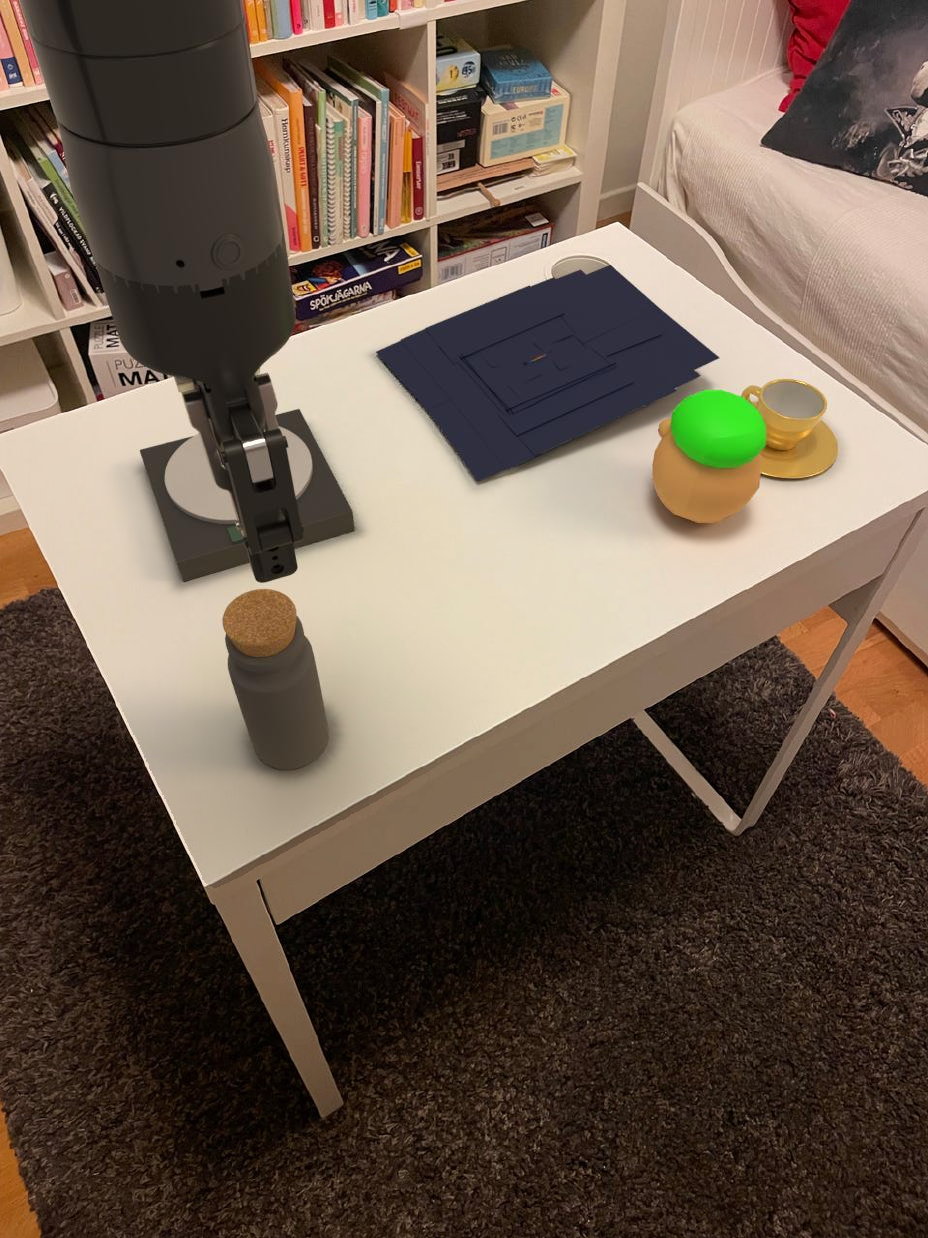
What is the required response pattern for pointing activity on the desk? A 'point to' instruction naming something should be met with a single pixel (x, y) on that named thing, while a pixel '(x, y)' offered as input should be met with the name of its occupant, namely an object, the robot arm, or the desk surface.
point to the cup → (793, 429)
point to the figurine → (709, 456)
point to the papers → (544, 366)
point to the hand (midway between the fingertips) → (254, 519)
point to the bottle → (275, 679)
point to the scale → (207, 513)
